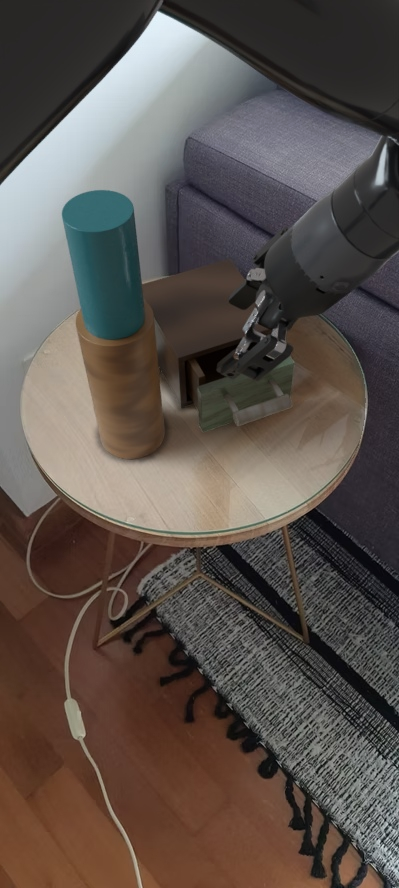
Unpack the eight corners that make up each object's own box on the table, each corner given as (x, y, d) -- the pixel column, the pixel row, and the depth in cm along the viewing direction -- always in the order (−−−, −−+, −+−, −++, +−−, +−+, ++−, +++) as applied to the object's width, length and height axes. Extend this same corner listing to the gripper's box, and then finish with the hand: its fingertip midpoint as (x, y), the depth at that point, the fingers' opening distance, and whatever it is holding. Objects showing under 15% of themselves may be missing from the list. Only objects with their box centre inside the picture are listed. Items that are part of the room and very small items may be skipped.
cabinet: (274, 377, 86) (279, 325, 79) (181, 408, 83) (178, 358, 77) (228, 310, 94) (229, 258, 87) (142, 337, 91) (136, 285, 84)
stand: (112, 467, 78) (89, 355, 64) (91, 420, 83) (65, 305, 68) (174, 446, 80) (165, 331, 66) (151, 401, 84) (137, 284, 70)
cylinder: (94, 347, 65) (73, 239, 55) (75, 308, 68) (53, 200, 58) (154, 329, 66) (143, 220, 56) (133, 291, 69) (119, 183, 60)
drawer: (307, 428, 80) (313, 388, 75) (217, 460, 78) (217, 422, 72) (244, 336, 90) (246, 295, 84) (163, 362, 87) (159, 321, 82)
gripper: (302, 169, 59) (209, 268, 73) (284, 300, 53) (187, 382, 67) (369, 210, 62) (268, 297, 76) (359, 339, 56) (251, 410, 69)
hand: (230, 337), depth 71 cm, fingers open, 8 cm apart
